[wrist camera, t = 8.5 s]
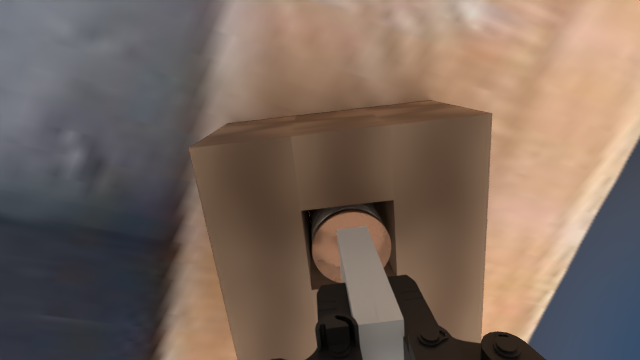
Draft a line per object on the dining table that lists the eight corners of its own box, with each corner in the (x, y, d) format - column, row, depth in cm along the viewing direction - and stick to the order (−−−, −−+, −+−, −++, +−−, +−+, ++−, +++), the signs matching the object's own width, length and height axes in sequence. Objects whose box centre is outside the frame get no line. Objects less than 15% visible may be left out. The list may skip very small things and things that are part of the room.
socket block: (278, 389, 30) (268, 495, 23) (227, 123, 23) (188, 148, 15) (432, 370, 30) (474, 470, 23) (430, 100, 23) (492, 113, 15)
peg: (313, 226, 25) (316, 288, 17) (307, 174, 23) (307, 218, 16) (367, 219, 25) (392, 279, 17) (364, 167, 23) (389, 208, 16)
